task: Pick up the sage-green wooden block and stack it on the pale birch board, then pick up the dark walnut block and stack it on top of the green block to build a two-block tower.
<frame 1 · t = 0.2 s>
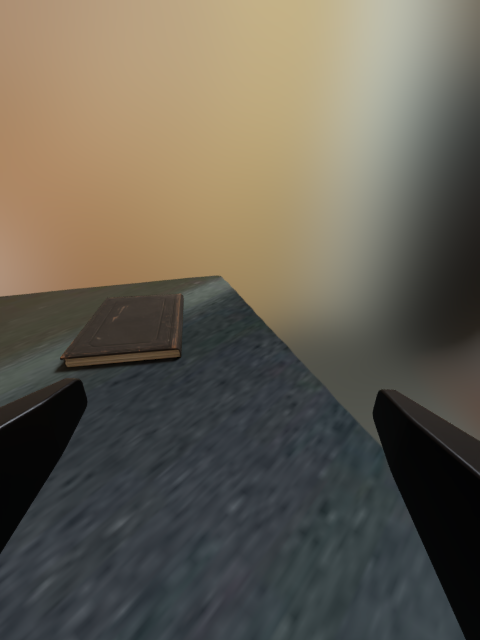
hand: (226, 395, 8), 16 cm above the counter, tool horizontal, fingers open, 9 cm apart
hardcover book: (138, 330, 48), on the counter
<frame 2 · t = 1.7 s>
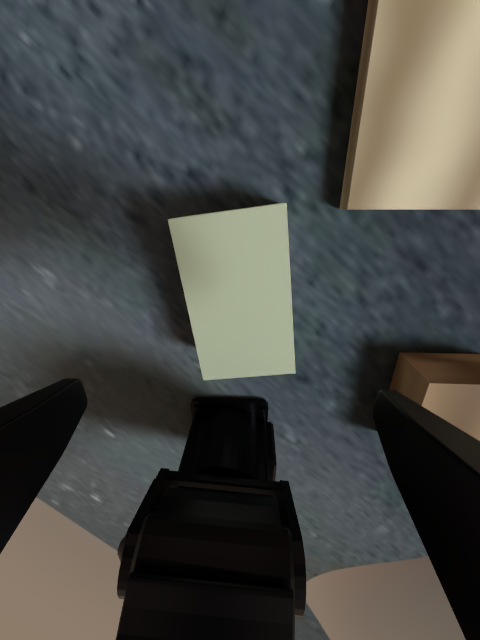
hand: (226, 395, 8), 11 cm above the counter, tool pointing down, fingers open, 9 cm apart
green block: (241, 285, 19), on the counter
walnut block: (423, 393, 22), on the counter
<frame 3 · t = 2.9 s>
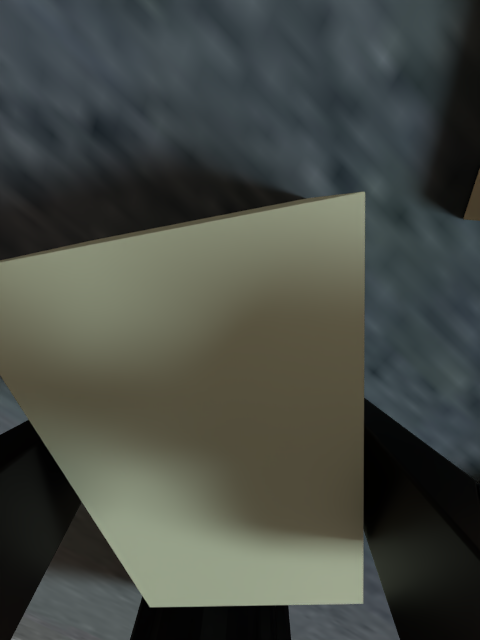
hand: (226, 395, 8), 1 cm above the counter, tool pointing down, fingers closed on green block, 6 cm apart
green block: (229, 373, 9), on the counter, touching gripper
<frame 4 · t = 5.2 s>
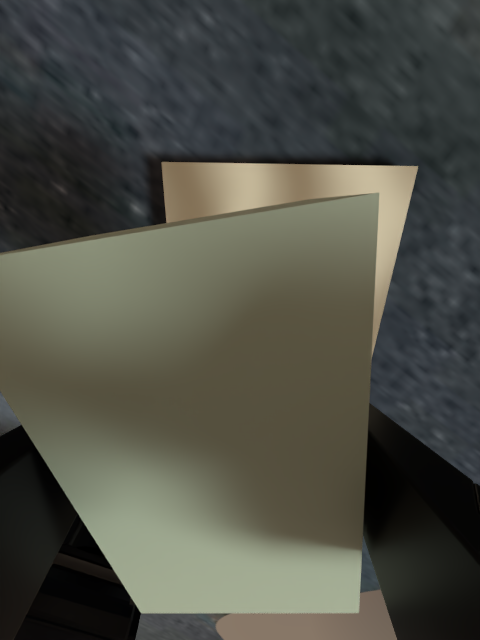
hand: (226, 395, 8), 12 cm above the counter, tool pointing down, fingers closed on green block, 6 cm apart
green block: (227, 375, 9), point 11 cm above the counter, touching gripper
birch board: (277, 268, 18), on the counter
when the fingers open (4 cm above the counter, at t = 7.2 s): green block drops 1 cm, resting on birch board.
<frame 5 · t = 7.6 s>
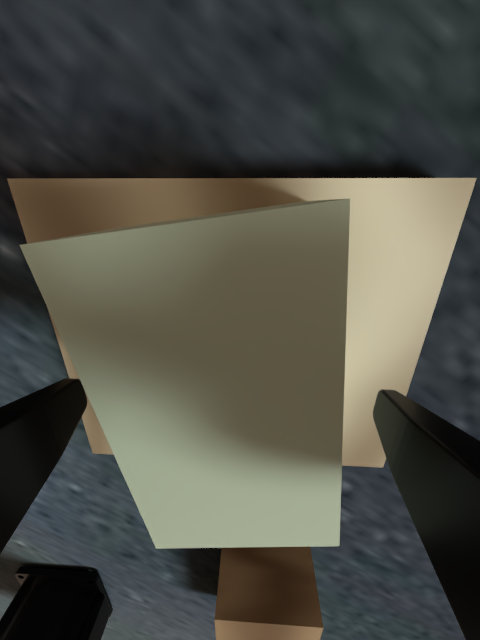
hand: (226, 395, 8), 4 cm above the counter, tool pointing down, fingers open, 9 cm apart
green block: (232, 351, 10), point 1 cm above the counter, touching birch board
walnut block: (263, 570, 20), on the counter
birch board: (236, 335, 12), on the counter
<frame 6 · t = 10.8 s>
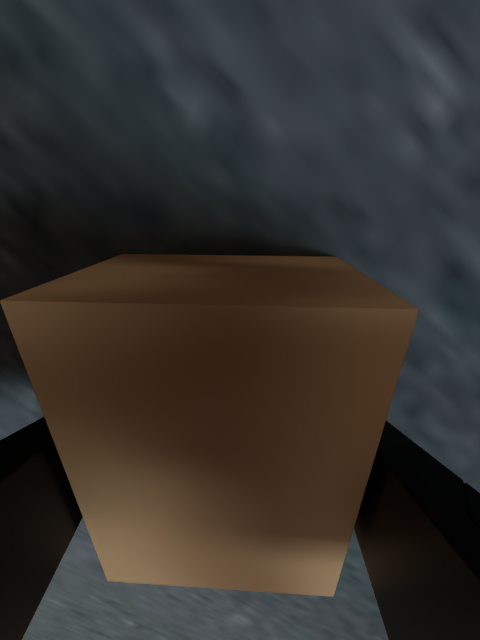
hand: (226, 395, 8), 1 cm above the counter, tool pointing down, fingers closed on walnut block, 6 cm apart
walnut block: (229, 373, 9), on the counter, touching gripper
when the fingers open (7 cm above the counter, at t = 14.9 s): walnut block stays where it is, resting on green block.
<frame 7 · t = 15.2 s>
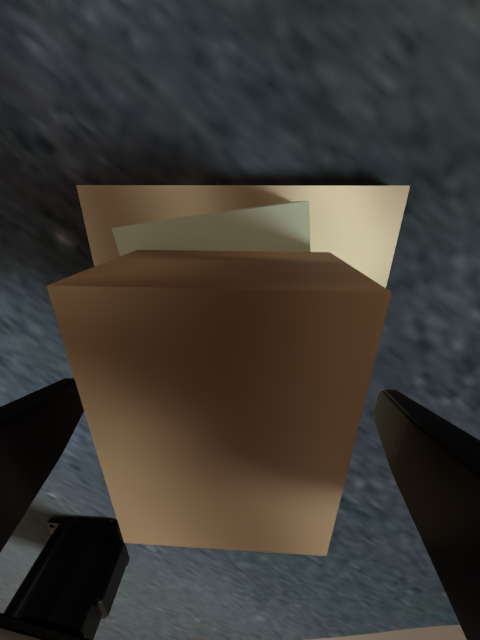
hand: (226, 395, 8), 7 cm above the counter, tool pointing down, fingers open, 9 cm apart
green block: (237, 316, 13), point 1 cm above the counter, touching birch board, walnut block
walnut block: (232, 360, 10), point 5 cm above the counter, touching green block
birch board: (239, 306, 15), on the counter
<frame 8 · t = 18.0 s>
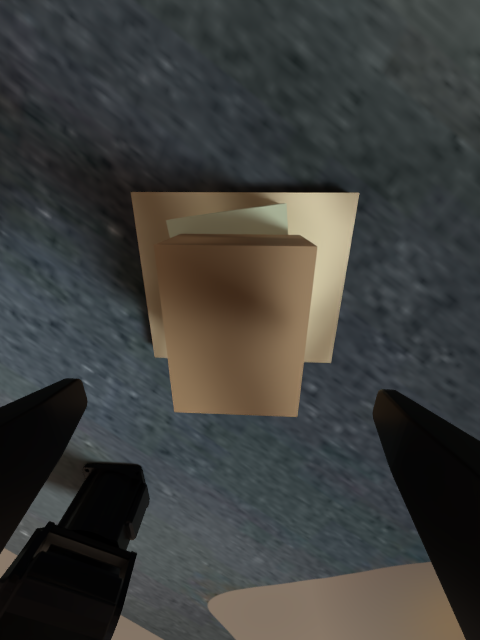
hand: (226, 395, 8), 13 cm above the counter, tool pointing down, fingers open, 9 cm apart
green block: (241, 286, 19), point 1 cm above the counter, touching birch board, walnut block
walnut block: (239, 308, 15), point 5 cm above the counter, touching green block
birch board: (242, 281, 20), on the counter
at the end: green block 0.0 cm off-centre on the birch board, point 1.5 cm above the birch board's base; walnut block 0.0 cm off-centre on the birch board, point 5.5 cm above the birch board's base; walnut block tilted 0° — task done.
